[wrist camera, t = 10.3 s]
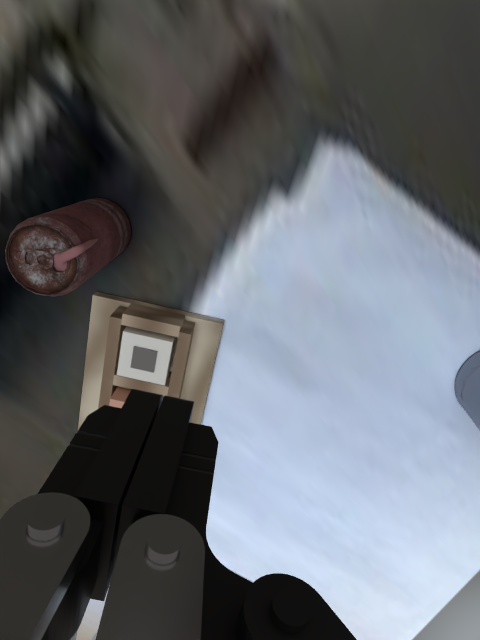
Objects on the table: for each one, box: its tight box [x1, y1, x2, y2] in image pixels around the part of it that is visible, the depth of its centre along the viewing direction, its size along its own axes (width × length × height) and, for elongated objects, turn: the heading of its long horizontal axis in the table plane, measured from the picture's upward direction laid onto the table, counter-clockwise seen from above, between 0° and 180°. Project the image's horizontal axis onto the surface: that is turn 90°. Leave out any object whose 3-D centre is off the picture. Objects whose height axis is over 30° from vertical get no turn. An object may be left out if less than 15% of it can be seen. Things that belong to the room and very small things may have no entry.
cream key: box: [117, 326, 176, 385], centre depth 47 cm, size 5×5×3 cm
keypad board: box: [78, 292, 224, 430], centre depth 51 cm, size 14×22×4 cm, turn 167°
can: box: [5, 198, 131, 296], centre depth 40 cm, size 6×6×14 cm
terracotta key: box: [109, 387, 163, 408], centre depth 48 cm, size 5×5×3 cm
